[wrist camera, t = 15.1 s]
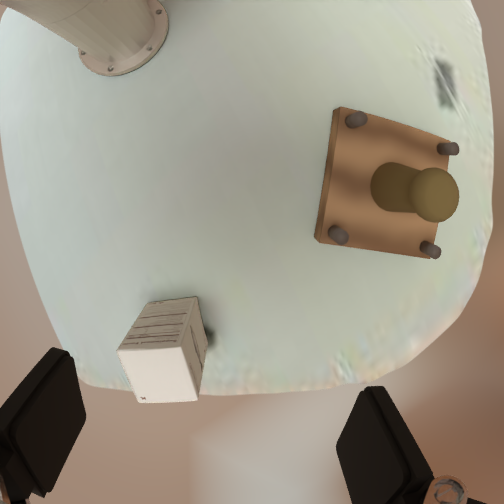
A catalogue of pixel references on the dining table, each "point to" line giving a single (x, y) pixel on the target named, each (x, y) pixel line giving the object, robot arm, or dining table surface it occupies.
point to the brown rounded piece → (415, 191)
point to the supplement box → (165, 352)
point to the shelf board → (359, 180)
